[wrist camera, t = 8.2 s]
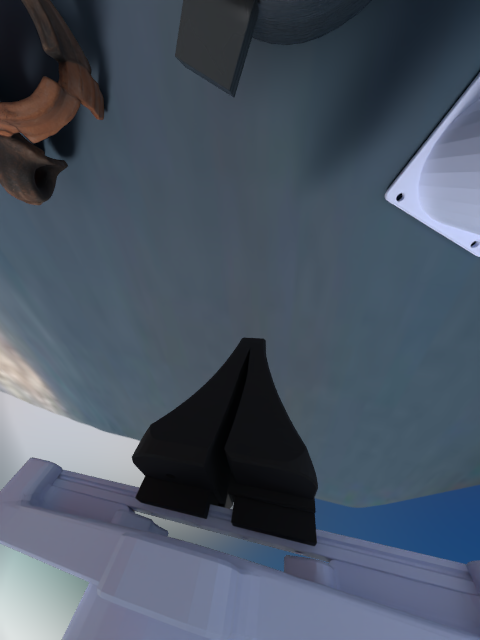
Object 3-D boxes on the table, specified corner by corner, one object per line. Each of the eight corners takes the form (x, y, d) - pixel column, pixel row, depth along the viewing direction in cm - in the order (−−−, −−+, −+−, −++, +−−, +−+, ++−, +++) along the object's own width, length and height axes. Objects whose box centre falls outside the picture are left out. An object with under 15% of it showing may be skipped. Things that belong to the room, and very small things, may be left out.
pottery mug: (-46, 7, 14) (-281, -238, 7) (111, 59, 17) (65, -71, 10) (9, 203, 18) (-96, 184, 11) (126, 218, 21) (102, 210, 14)
